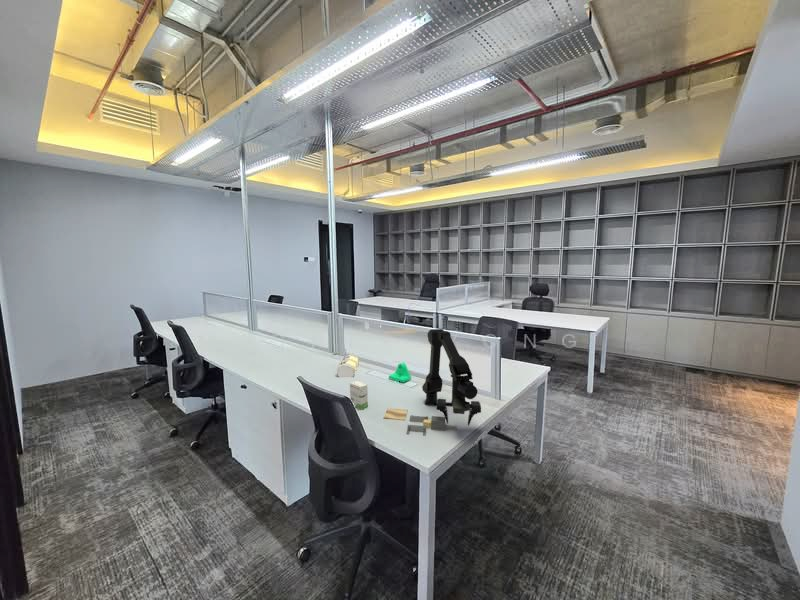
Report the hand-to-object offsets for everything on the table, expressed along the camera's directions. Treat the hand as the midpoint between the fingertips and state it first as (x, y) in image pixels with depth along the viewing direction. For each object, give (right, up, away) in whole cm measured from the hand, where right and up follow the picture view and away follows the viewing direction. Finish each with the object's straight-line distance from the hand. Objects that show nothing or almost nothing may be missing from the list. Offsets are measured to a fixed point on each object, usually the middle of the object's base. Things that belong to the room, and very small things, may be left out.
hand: (457, 424), depth 142 cm
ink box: (-46, 0, +23) cm, 51 cm away
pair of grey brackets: (-17, -2, +3) cm, 18 cm away
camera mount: (-26, +4, +59) cm, 65 cm away
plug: (-8, -2, +1) cm, 9 cm away
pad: (-27, 0, +14) cm, 30 cm away
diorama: (-60, +6, +76) cm, 97 cm away
